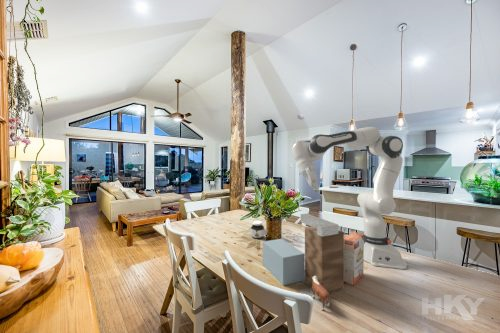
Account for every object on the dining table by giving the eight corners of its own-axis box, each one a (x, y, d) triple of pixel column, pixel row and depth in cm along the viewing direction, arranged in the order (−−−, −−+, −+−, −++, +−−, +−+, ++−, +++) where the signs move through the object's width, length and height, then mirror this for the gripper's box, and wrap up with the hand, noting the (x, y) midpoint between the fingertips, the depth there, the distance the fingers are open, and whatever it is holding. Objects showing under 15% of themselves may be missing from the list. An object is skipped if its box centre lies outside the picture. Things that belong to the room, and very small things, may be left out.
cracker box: (354, 286, 100) (355, 241, 99) (341, 281, 104) (341, 238, 103) (364, 274, 110) (364, 233, 109) (352, 270, 114) (352, 231, 113)
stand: (305, 281, 104) (304, 227, 103) (324, 276, 109) (324, 224, 108) (322, 295, 93) (322, 235, 92) (343, 289, 97) (343, 231, 97)
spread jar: (249, 238, 164) (249, 222, 163) (256, 233, 174) (255, 219, 173) (263, 240, 158) (263, 224, 158) (269, 235, 168) (269, 220, 168)
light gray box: (292, 222, 111) (292, 215, 111) (307, 221, 115) (307, 213, 115) (321, 236, 91) (321, 227, 91) (338, 233, 94) (338, 224, 94)
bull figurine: (317, 291, 96) (317, 273, 96) (332, 312, 83) (332, 291, 83) (307, 292, 96) (307, 273, 95) (321, 313, 82) (321, 292, 82)
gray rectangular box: (262, 264, 121) (262, 241, 121) (281, 260, 126) (281, 238, 125) (283, 285, 101) (283, 257, 100) (304, 280, 105) (304, 253, 105)
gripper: (313, 160, 111) (324, 185, 107) (312, 170, 130) (321, 191, 126) (301, 165, 112) (312, 190, 108) (302, 173, 131) (311, 195, 127)
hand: (317, 191), depth 117 cm, fingers open, 8 cm apart
